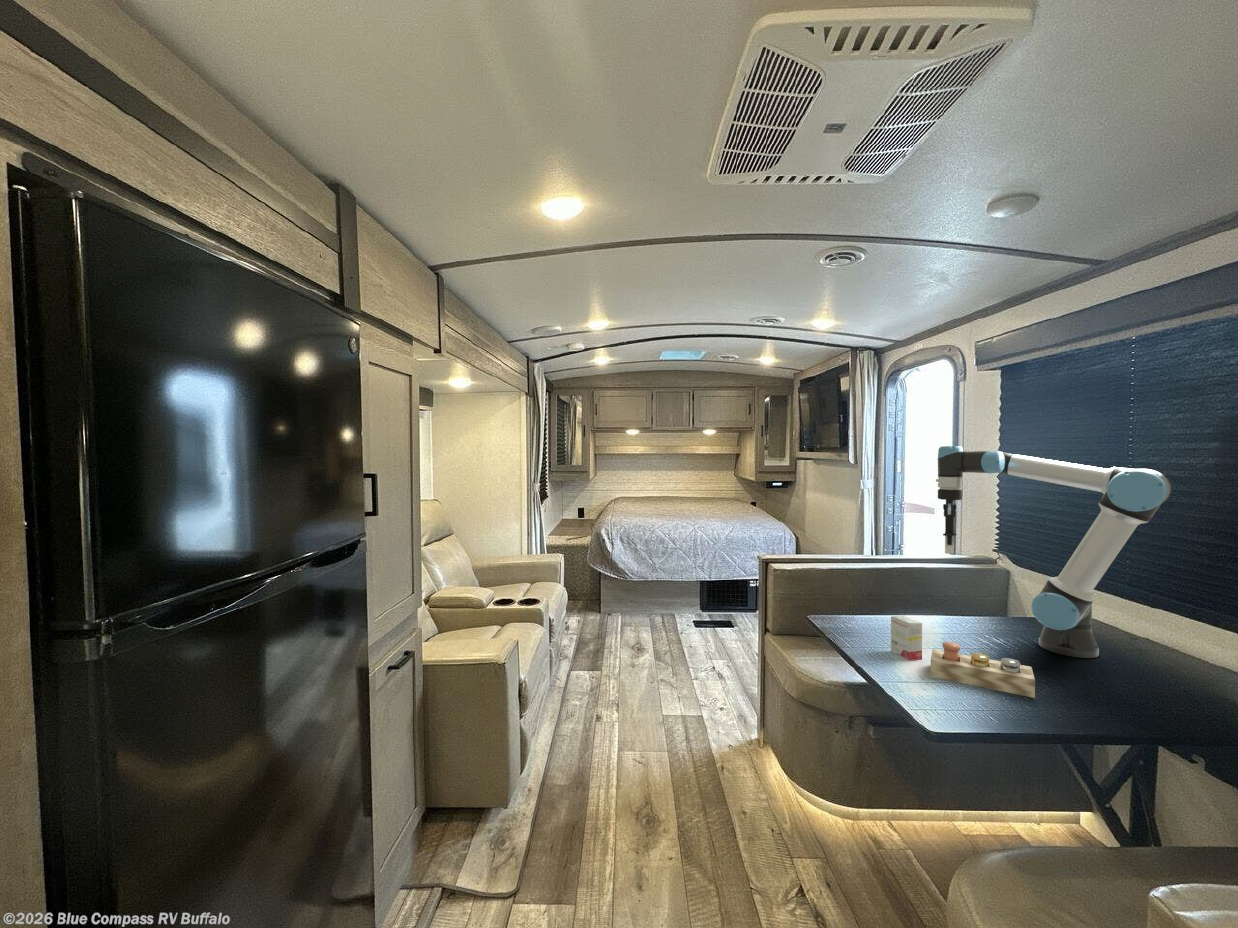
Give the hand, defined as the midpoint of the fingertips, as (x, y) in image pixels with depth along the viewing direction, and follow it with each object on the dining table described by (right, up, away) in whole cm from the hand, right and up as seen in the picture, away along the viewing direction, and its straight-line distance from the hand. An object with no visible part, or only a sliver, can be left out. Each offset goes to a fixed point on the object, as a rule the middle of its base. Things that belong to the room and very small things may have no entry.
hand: (949, 553), depth 187 cm
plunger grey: (-10, -30, -42) cm, 52 cm away
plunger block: (-16, -30, -38) cm, 51 cm away
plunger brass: (-16, -29, -38) cm, 51 cm away
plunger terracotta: (-22, -28, -34) cm, 49 cm away
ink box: (-26, -30, -19) cm, 44 cm away
